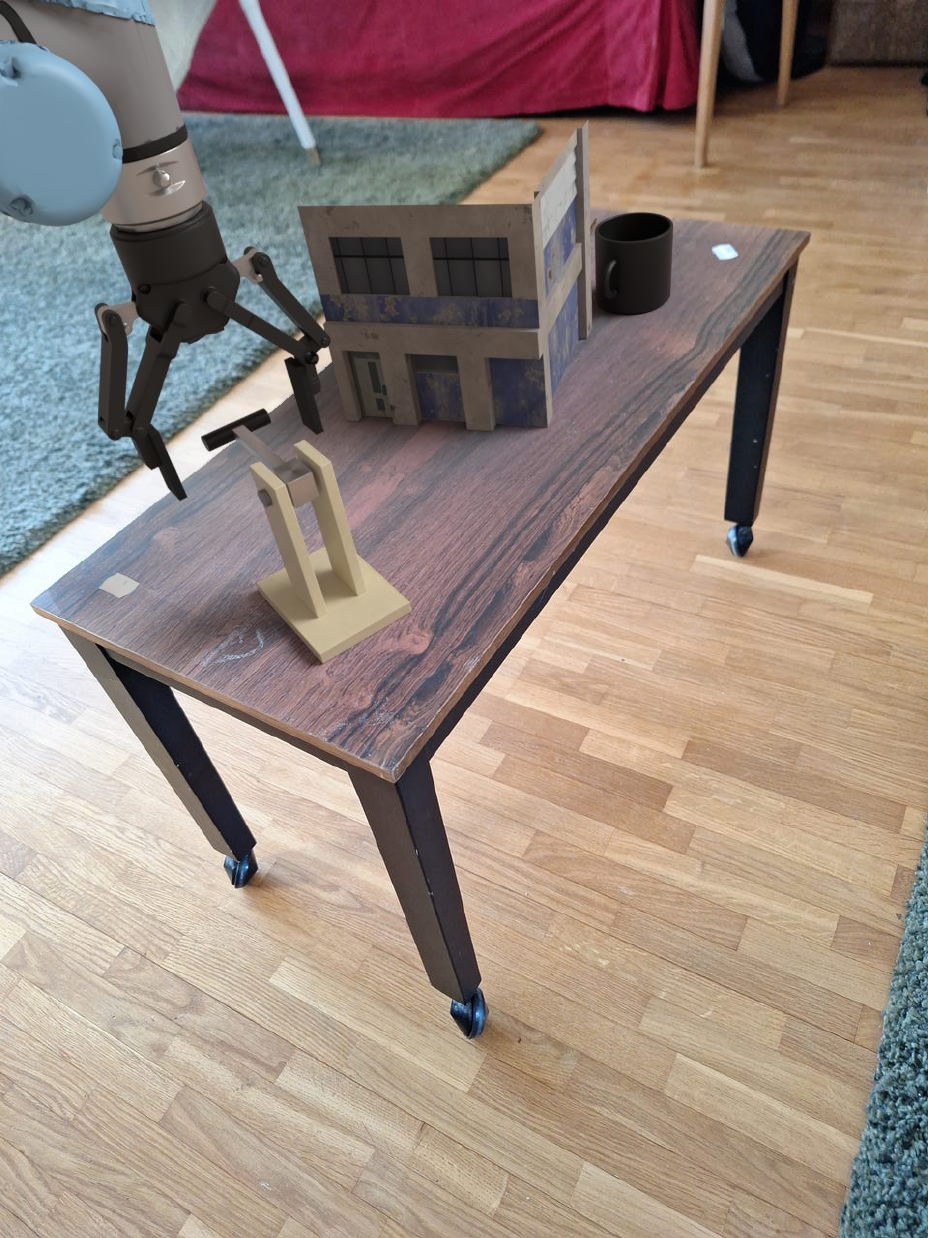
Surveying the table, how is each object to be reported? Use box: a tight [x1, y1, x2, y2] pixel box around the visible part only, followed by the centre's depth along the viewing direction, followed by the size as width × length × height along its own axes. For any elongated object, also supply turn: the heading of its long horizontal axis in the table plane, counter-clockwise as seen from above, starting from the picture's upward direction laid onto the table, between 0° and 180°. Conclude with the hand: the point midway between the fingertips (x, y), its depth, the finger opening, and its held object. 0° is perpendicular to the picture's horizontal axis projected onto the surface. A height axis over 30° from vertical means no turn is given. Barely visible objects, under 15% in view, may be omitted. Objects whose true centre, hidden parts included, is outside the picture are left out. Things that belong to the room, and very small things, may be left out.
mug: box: [594, 211, 674, 315], centre depth 107 cm, size 9×12×9 cm
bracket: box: [248, 439, 412, 665], centre depth 71 cm, size 12×9×15 cm
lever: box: [200, 408, 319, 509], centre depth 70 cm, size 13×6×2 cm, turn 36°
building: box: [296, 120, 593, 432], centre depth 94 cm, size 23×24×23 cm
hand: (247, 459), depth 76 cm, fingers open, 13 cm apart
